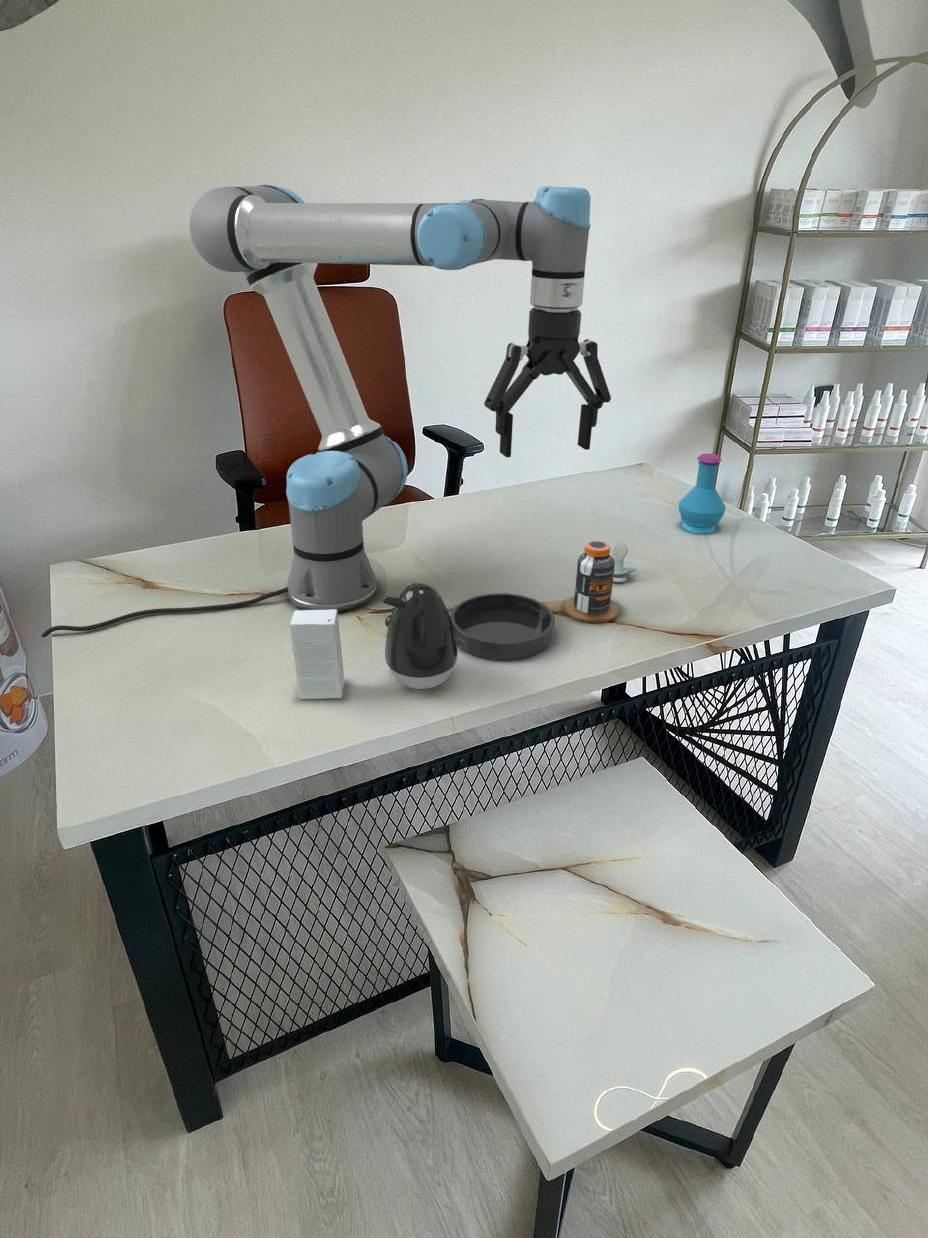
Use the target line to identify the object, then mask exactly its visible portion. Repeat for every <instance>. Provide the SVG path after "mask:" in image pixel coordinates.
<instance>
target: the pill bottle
mask: <svg viewBox="0 0 928 1238" xmlns="http://www.w3.org/2000/svg"><path fill="white" fill-rule="evenodd" d="M583 551H584V552H583V553H581V554H580V555H579V557H578V559H577V564H576V565H577V566H576V576H575V589H574V596H575V597H574V596H573V597H574V606H575V608H576V609H577V610H579V611H581V612H583V613H587V614H601V613H604V612H606V611H608V609H609V608H610V601H611V600H612V590H613V583H614V582H613V575H614V565H615V562H614V559H613V558H614V557H613V555H612V556H611V545H610V543H608V542H606V541H602V540H594V539H593V540H589V541H586V542H585V544H584V549H583ZM612 557H613V558H612Z"/></svg>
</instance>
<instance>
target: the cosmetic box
mask: <svg viewBox="0 0 928 1238" xmlns="http://www.w3.org/2000/svg"><path fill="white" fill-rule="evenodd" d="M289 631H290V638H291V646H292V652H293V653H292V654H293V660H294V669H295V676H296V685H297V693H298V699H299V700H319V699H321V700H322V699H323V700H325V699H342V698H343V692H344V686H345V673H344V662H343V653H342V652H343V651H342V643H341V632H340V621H339V612H338V611H337V609H332V610H303V609H297V610H296V609H295V610H294V611H293V614H292V616H291V620H290V622H289Z"/></svg>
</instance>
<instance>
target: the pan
mask: <svg viewBox="0 0 928 1238" xmlns="http://www.w3.org/2000/svg"><path fill="white" fill-rule="evenodd" d="M449 615H450V617H451V621H452V624H453V628H454V632H455V638H456V644H457V648H458V649H460V650H461V651H462V652H464V653H467V654H468V655H470V656H473V657H476V658H479V659H484V660H491V661H502V662H506V661H507V662H509V661H510V662H511V661H519V660H524V659H525V660H526V659H529V658H531V657H534V656H537V655H539V654H541V653H543V652H545V651H546V650H547V649H548V648H549V647H550V646H551V644H552V643H553V640H554V637H555V630H556V629H555V626H556V619H555V615H554V612H553V611H552V610H551V608H549V607H548V605H546V604H544V603H543V602H541V601H540V600H537V599H536V598H532V597H529V596H525V595H522V594H515V593H509V592H507V593H506V592H494V593H491V592H490V593H486V594H479V595H475V596H471V597H470V598H466V599H463V600H462V601H461V602H459V603H458V604H457V605H455V606H454V608H453V609H452V611H451V612H450V613H449Z"/></svg>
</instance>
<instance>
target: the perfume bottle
mask: <svg viewBox="0 0 928 1238" xmlns="http://www.w3.org/2000/svg"><path fill="white" fill-rule="evenodd" d="M696 459H697V460H698V468H697V469H698V470H697V477H696V481H695V482H696V483H695V486H693V488H692V489H690V491H689V492H687V494H686V495H685V496H683V498H681V499H680V500H679V502H678V511H679V515H680V520H681V521H682V523H681V525H682V528H683V530H686V531H688V532H690V533H695V534H710V533H714V532H715V531H716V529H717V527H716V526H717V525H718V524H719V523H720V521H721V519H722V518H723V516H724V515H725V512H726V505H725V503H724V501H723V500H722V497H721V496H720V494H719V493H718V491H717V489H716V487H715V485H716V479H717V473H718V468H719V465H720V463H721V462H722V459H721V457H720V456H719V455H718V454H716V453H715V454H714V453H702V454H700V455H699V456H698V457H697V458H696Z"/></svg>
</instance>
